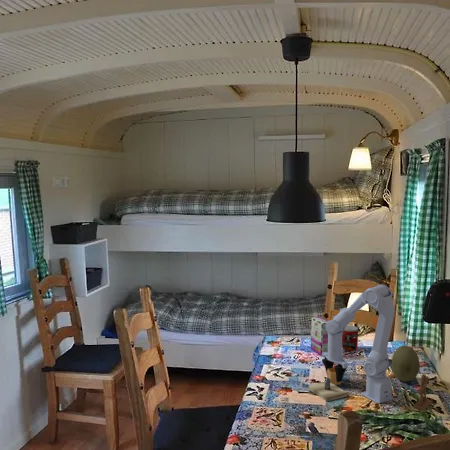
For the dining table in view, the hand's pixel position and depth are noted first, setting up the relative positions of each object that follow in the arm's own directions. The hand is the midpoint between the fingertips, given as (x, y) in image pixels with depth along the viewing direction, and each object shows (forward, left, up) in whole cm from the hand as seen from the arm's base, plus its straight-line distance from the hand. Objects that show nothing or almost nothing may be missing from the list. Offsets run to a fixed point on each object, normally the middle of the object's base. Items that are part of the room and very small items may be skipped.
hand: (334, 378), depth 203 cm
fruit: (-12, -28, -2) cm, 31 cm away
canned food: (+28, -32, -2) cm, 43 cm away
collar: (0, 0, -1) cm, 1 cm away
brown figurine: (-31, -17, -2) cm, 36 cm away
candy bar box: (+31, -16, -2) cm, 35 cm away
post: (-7, +9, 0) cm, 11 cm away
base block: (-7, +9, -1) cm, 11 cm away
